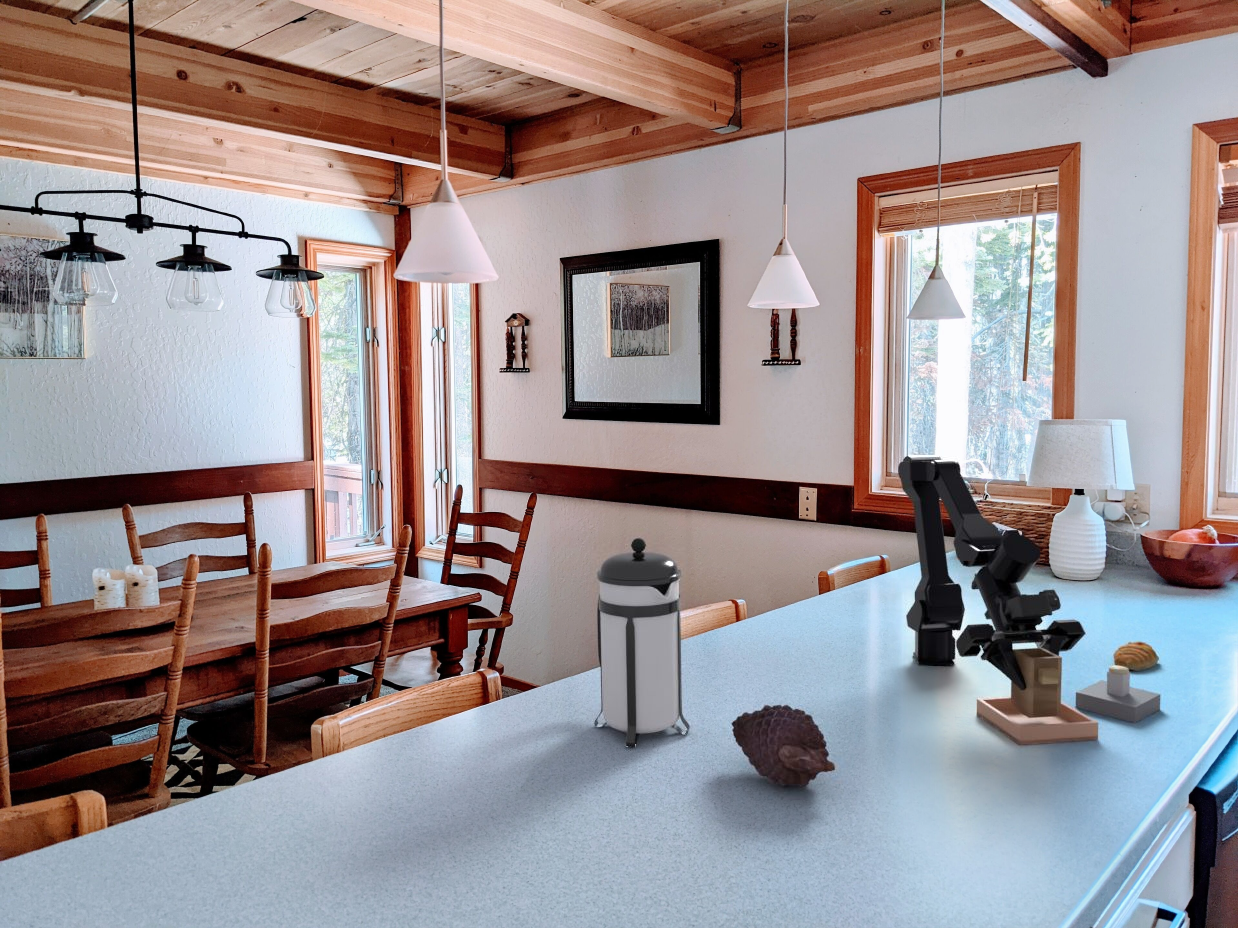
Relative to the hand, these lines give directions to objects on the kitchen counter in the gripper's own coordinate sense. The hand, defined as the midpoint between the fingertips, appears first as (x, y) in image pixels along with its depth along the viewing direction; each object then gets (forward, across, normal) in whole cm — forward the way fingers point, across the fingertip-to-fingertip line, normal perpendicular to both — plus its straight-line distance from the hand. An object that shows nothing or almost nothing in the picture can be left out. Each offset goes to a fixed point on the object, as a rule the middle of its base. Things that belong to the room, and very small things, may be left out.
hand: (1040, 688), depth 134 cm
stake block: (0, +17, +9) cm, 19 cm away
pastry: (-14, +35, +24) cm, 45 cm away
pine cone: (+12, -43, -3) cm, 45 cm away
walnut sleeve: (+2, 0, +4) cm, 4 cm away
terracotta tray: (+4, 0, +6) cm, 7 cm away
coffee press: (-3, -60, +12) cm, 62 cm away
